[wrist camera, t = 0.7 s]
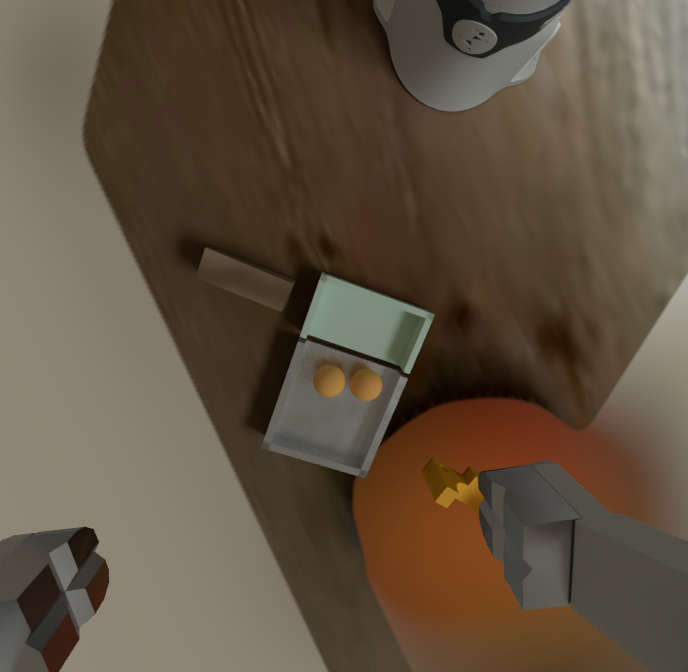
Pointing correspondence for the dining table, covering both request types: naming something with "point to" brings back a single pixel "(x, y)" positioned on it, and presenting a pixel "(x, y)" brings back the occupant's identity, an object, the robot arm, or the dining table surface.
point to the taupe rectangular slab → (245, 278)
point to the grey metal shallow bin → (331, 411)
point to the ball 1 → (329, 380)
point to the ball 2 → (365, 384)
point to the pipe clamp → (453, 485)
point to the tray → (367, 321)
